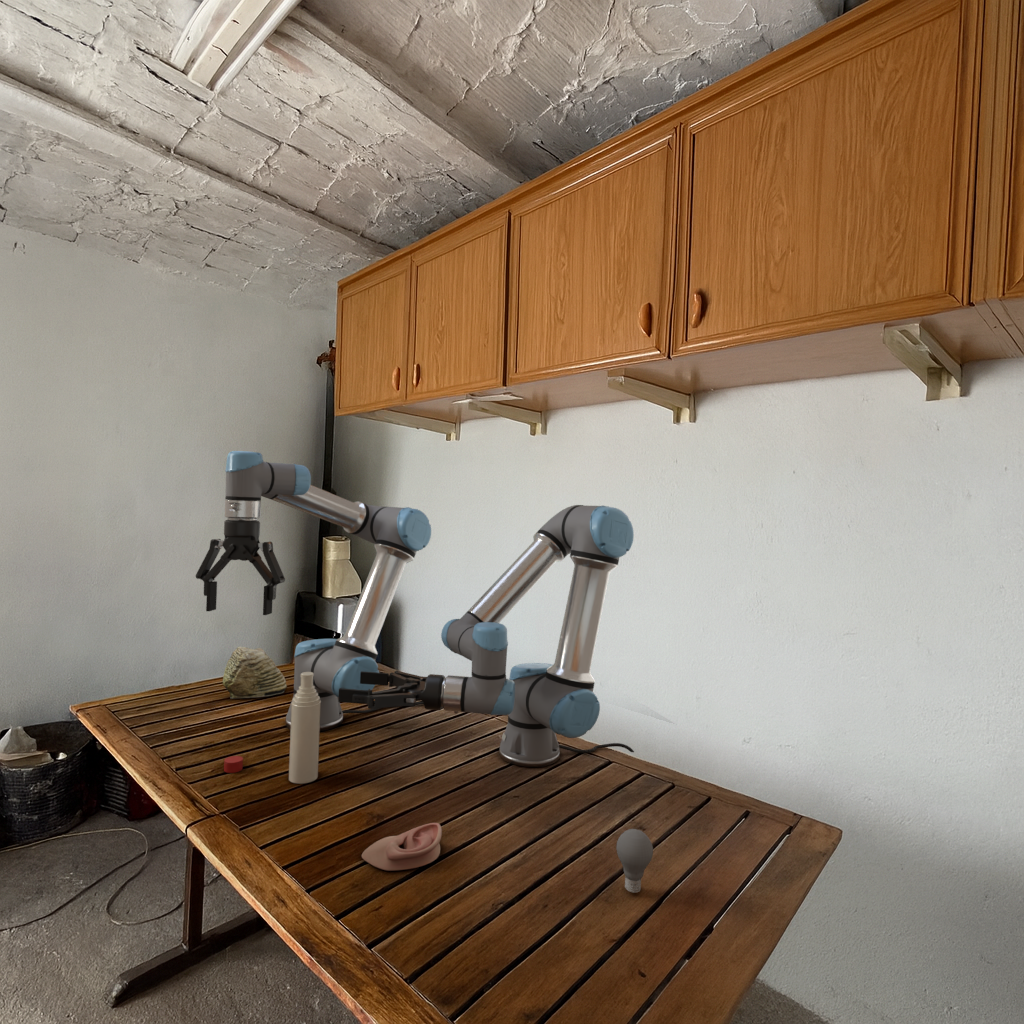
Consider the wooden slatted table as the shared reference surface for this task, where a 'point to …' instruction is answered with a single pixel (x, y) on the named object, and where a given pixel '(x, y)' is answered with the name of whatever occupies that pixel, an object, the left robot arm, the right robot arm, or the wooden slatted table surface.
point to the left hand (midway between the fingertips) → (239, 612)
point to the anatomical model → (406, 849)
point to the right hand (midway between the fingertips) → (350, 685)
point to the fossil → (252, 674)
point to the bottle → (304, 732)
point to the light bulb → (634, 857)
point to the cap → (233, 764)
